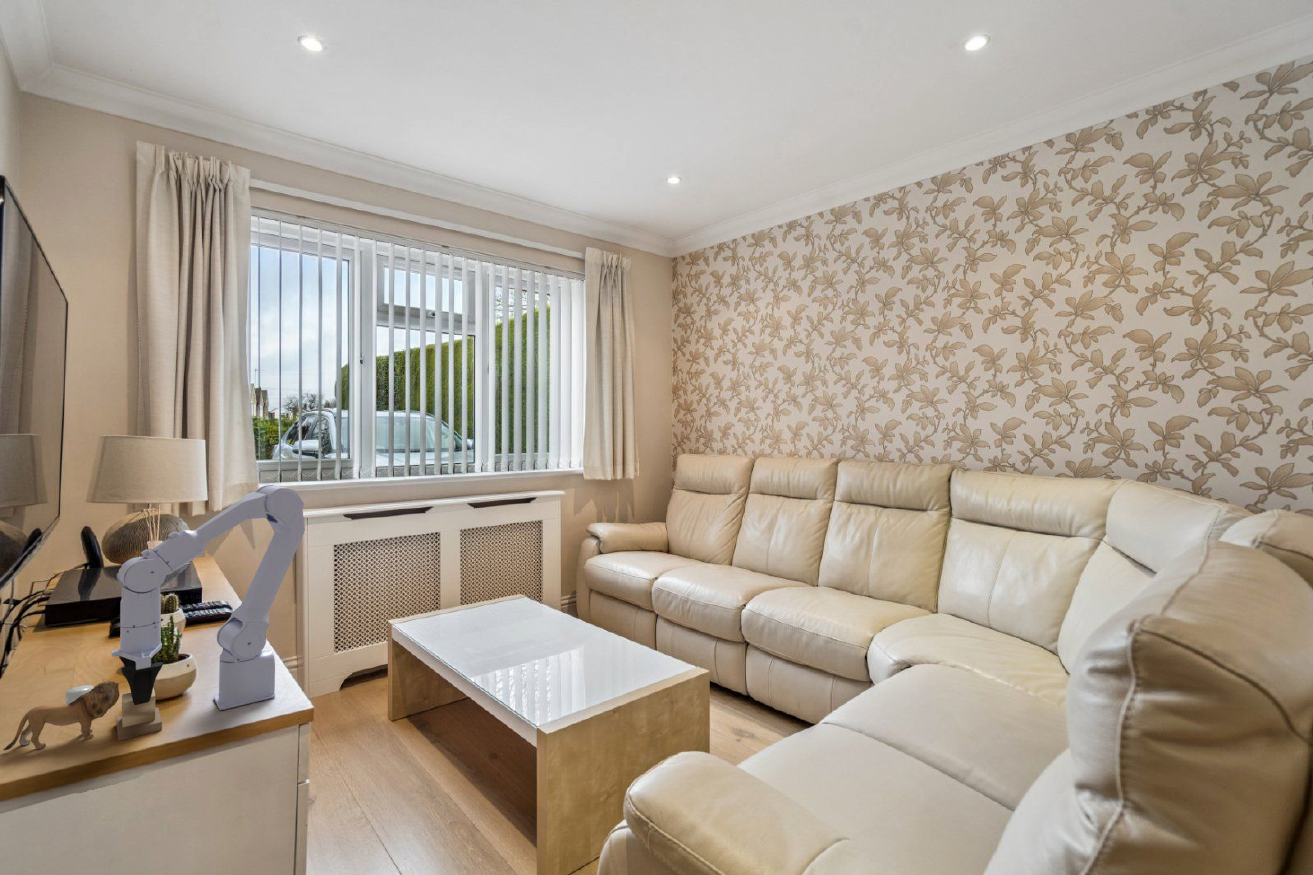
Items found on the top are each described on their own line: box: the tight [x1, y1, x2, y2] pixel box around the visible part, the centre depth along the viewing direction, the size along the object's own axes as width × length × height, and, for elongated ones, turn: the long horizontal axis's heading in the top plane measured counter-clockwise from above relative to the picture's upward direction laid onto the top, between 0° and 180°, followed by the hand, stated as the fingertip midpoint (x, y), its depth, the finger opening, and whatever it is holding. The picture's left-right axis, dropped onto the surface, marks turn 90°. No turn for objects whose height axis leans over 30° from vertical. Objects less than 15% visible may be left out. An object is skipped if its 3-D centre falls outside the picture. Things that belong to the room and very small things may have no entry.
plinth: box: [115, 706, 163, 741], centre depth 112 cm, size 6×8×2 cm
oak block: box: [121, 687, 156, 727], centre depth 112 cm, size 4×4×4 cm
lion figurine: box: [2, 680, 121, 751], centre depth 107 cm, size 15×5×9 cm, turn 132°
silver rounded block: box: [65, 684, 94, 704], centre depth 121 cm, size 4×4×3 cm
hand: (140, 696), depth 112 cm, fingers open, 7 cm apart
